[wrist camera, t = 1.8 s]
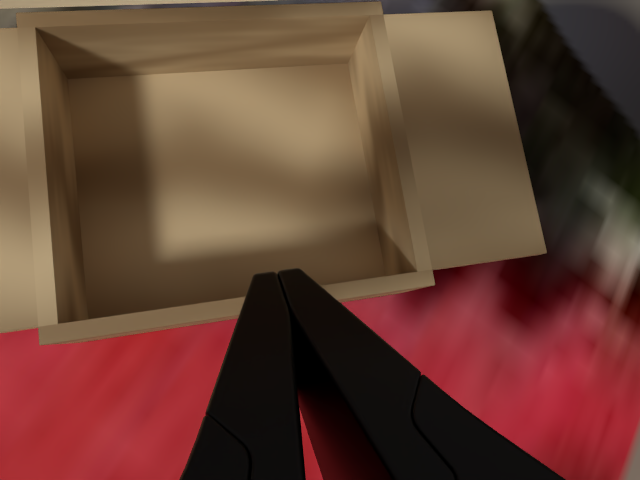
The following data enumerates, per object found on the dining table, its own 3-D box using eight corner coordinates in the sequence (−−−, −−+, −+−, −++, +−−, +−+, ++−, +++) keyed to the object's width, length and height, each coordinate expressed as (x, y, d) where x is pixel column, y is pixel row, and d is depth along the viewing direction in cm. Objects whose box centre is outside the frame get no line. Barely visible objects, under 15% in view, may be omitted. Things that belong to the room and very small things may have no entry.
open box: (493, 279, 25) (550, 267, 20) (-57, 363, 20) (-136, 372, 16) (446, 53, 27) (488, -2, 22) (-69, 80, 22) (-143, 17, 17)
